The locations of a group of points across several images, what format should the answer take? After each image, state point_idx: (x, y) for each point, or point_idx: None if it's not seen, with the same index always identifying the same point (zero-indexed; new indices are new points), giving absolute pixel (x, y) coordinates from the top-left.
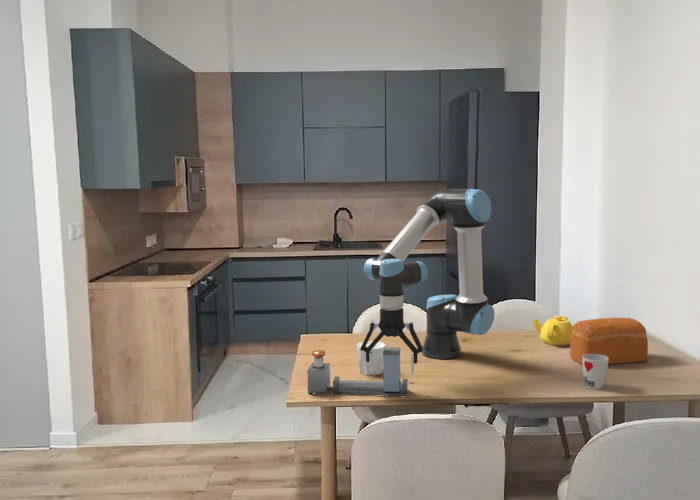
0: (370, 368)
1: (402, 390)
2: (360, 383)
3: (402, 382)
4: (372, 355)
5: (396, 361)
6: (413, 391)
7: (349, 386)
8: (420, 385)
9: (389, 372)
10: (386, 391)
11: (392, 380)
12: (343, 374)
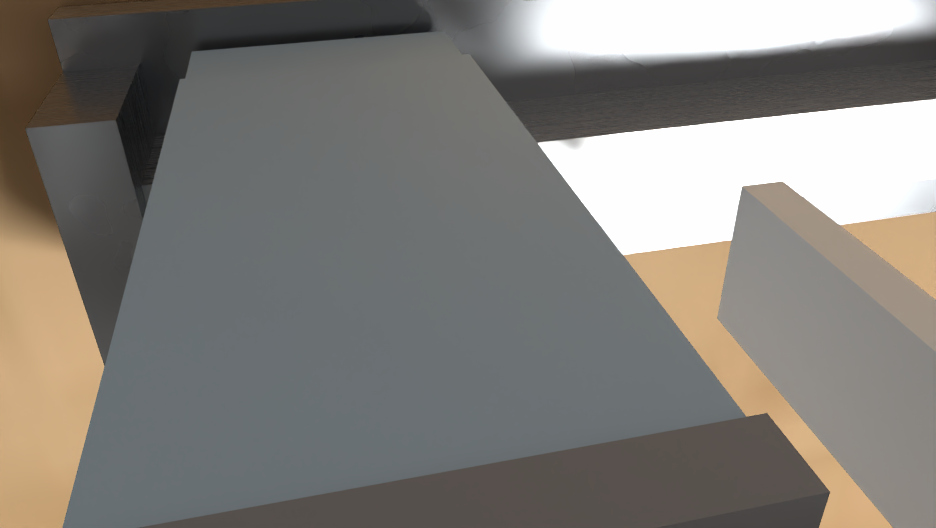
0: (817, 222)
1: (160, 139)
2: (808, 108)
3: None
4: (915, 522)
5: (199, 346)
6: (41, 256)
7: (918, 75)
8: (27, 461)
9: (392, 156)
10: None
11: (309, 97)
12: (858, 501)
